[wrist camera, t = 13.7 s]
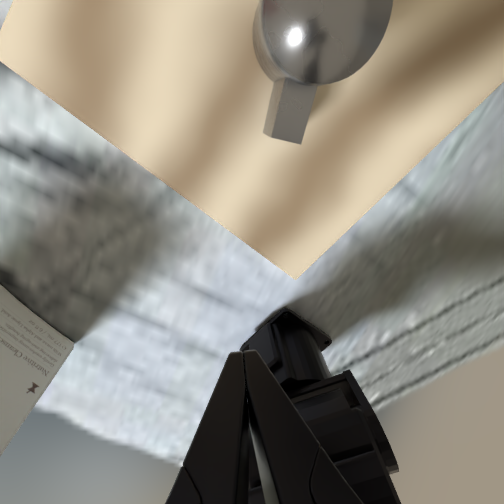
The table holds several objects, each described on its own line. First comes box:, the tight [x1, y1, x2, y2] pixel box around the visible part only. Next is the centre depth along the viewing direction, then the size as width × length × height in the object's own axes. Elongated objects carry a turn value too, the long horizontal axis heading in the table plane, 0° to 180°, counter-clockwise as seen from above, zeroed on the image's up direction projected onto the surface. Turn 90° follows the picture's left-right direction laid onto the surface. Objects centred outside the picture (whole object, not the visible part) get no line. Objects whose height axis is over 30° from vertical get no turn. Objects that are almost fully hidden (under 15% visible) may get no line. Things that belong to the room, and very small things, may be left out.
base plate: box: [0, 0, 504, 280], centre depth 15 cm, size 22×22×1 cm
